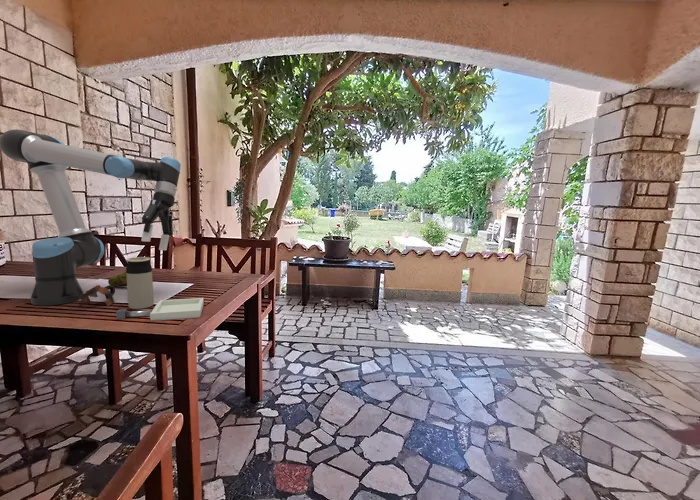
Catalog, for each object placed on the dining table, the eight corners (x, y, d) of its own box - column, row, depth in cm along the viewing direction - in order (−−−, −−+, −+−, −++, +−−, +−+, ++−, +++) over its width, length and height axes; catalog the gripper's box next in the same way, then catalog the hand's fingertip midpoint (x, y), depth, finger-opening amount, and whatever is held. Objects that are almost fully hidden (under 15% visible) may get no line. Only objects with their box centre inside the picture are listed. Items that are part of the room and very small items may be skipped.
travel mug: (142, 310, 119) (139, 261, 116) (123, 308, 120) (119, 259, 117) (158, 303, 126) (156, 257, 124) (140, 302, 128) (137, 256, 125)
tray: (150, 321, 109) (150, 313, 109) (159, 306, 123) (159, 300, 123) (200, 317, 114) (199, 310, 114) (203, 304, 128) (203, 297, 128)
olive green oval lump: (123, 283, 154) (122, 266, 152) (145, 286, 150) (144, 268, 149) (105, 287, 146) (104, 269, 144) (128, 290, 142) (127, 272, 141)
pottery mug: (104, 310, 119) (88, 291, 117) (85, 318, 122) (69, 301, 119) (127, 293, 130) (113, 276, 128) (110, 301, 133) (95, 284, 130)
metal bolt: (116, 319, 109) (116, 311, 109) (119, 316, 112) (118, 309, 112) (149, 317, 113) (148, 309, 112) (151, 314, 115) (150, 307, 115)
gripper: (159, 182, 121) (148, 237, 116) (186, 207, 145) (177, 253, 140) (138, 180, 121) (126, 236, 115) (168, 205, 145) (159, 252, 139)
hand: (154, 246), depth 128 cm, fingers open, 13 cm apart
